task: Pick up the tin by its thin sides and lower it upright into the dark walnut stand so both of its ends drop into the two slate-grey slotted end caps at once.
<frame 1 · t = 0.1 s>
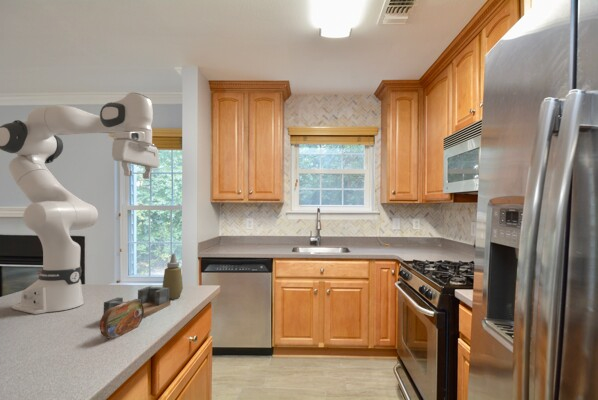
hand: (137, 177, 112), 48 cm above the countertop, tool pointing down, fingers open, 8 cm apart
stand: (138, 313, 110), on the countertop
squeeze bottle: (172, 298, 130), on the countertop
tin: (122, 333, 93), on the countertop
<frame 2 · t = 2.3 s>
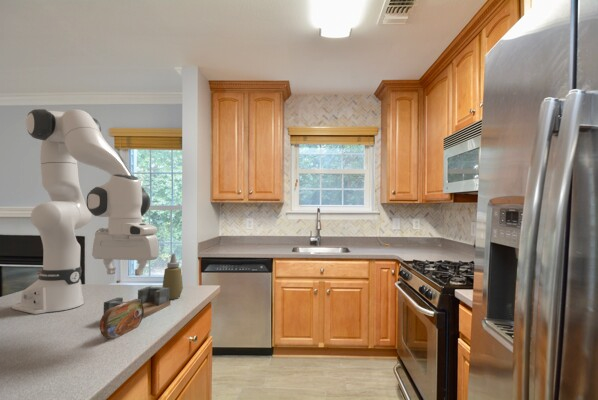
hand: (124, 274, 94), 17 cm above the countertop, tool pointing down, fingers open, 8 cm apart
nothing on the countertop moved.
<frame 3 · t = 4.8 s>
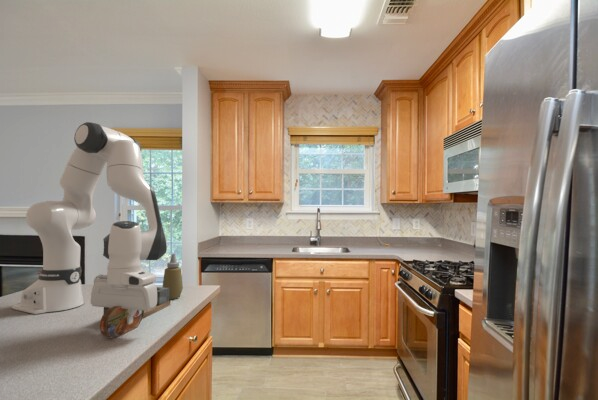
hand: (122, 322, 93), 3 cm above the countertop, tool pointing down, fingers closed on tin, 3 cm apart
tin: (122, 332, 93), on the countertop, touching gripper
everything else where it was.
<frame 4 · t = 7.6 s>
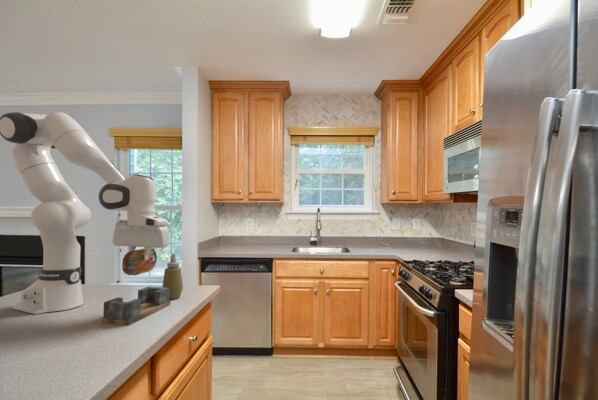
hand: (139, 259, 111), 19 cm above the countertop, tool pointing down, fingers closed on tin, 2 cm apart
tin: (138, 273, 111), point 14 cm above the countertop, touching gripper
everything else where it was.
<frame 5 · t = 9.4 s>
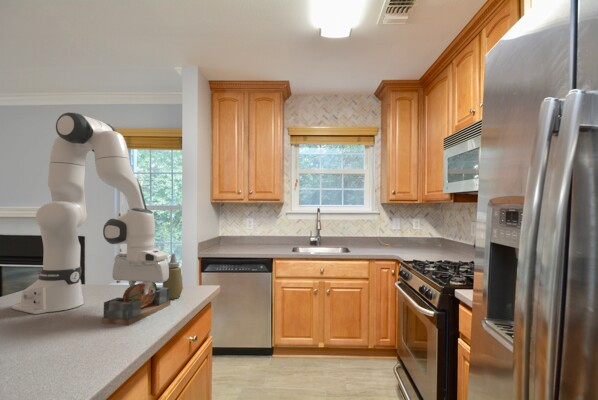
hand: (140, 293, 111), 7 cm above the countertop, tool pointing down, fingers closed on tin, 2 cm apart
tin: (139, 307, 111), point 2 cm above the countertop, touching gripper
everything else where it was.
when the fingers open (6 cm above the countertop, at t = 10.5 s): tin stays where it is, resting on stand.
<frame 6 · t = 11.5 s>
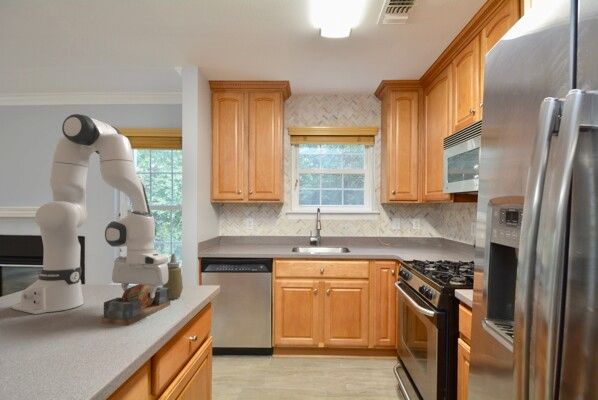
hand: (139, 296, 111), 6 cm above the countertop, tool pointing down, fingers open, 8 cm apart
tin: (139, 309, 111), point 1 cm above the countertop, touching stand
everything else where it was.
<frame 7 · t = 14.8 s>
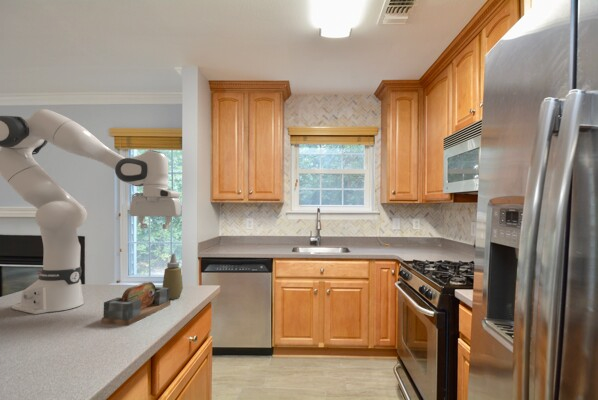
hand: (154, 228, 121), 29 cm above the countertop, tool pointing down, fingers open, 8 cm apart
nothing on the countertop moved.
at the end: tin 0.4 cm off-centre on the stand, point 1.3 cm above the stand's base; tin tilted 0°; the gripper is holding nothing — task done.
